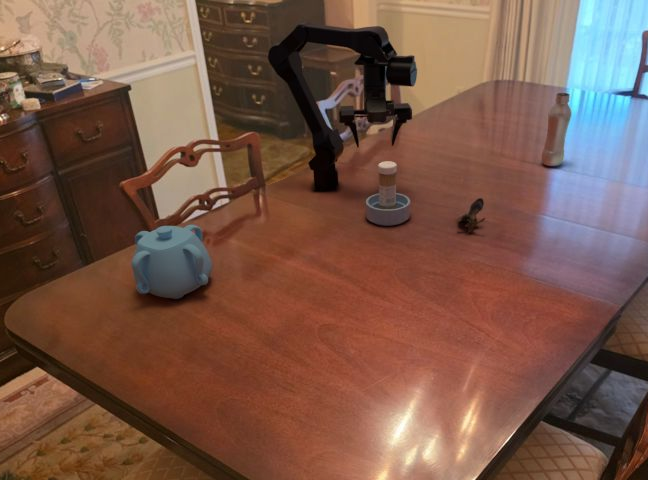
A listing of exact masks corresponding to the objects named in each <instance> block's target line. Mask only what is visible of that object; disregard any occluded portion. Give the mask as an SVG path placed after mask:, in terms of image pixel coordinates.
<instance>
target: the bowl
mask: <svg viewBox="0 0 648 480" xmlns="http://www.w3.org/2000/svg"><path fill="white" fill-rule="evenodd" d="M365 217H366V219H367V220H368V221H369V222H370V223H373V224H375V225H378V226H383V227H391V226H397V225H400V224H403V223H405V222H406V221H408V220H409V218H410V217H411V199H410V198H409V197H408V196H407V195H405V194H402V193H397V192H396V209H390V210H389V209H379V192H378V193H375V194H372V195H370V196H369V197H367V198H366V200H365Z"/></svg>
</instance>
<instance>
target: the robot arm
mask: <svg viewBox="0 0 648 480" xmlns="http://www.w3.org/2000/svg"><path fill="white" fill-rule="evenodd" d="M308 43H310V44H319V45H325V46H333V47H340V48H347V49H350V50H351V51H353V52H355V53H356V54H359V57H358V58H357V59H356V60H355V61H354V65H355V66H362V81H363V83H362V85H363V109H355V108H354V105H340V106H339V107H338V120H339V121H338V122H339V124H343V125H344V126H345V127H348V128H349V129H350V131H351V133H352V137H353V139H354V142H355V144H356V147H357V148H359V147H360V141H359V134H358V128H357V123H356V118H366V122H367V123H369V124H374V123H381V124H383V123H386V122H387V117H392V128H391V139H390V140H391V141H390V143H391V147H393V146H394V145H395V142H396V139H397V137H398V133H399V131H400V129H401V127H402V125H404V124H407V122H408V121H411V120H413V109H412V107H411V105H410V103H408V102H401V103H395V101H394V99H389V100H387V83H388V84H389V85H390V86H395V87H396V86H397V87H410V88H411V87H412V88H413V87H415V85H416V83H417V79H418V68H417V63H416V60H415V55H413V54H412V55H411V54H409V55H398V52H397V51H396V50H395V48H394V46H393V45H392V43H391V41H390V39H389V34H388V32H387V30H386V29H385V28H384V27H383V26H379V25H375V26H365V27H357V28H350V27H349V28H348V27H341V26H333V25H325V24H319V23H318V24H317V23H311V22H310V21H304V22H302V23H300V24H297V25H296V26H295V28H294V29H293V30H292V31H291V32H290V33H289V34H288V35H287V36H286V37H284V39H283V40H281V42H279V43H277V44H274V45H272V46H271V47H270V48H269V50H268V54H267V60H268V63H269V65H270V66H271V68H272V69H273V71H274V72H275V74H276V75H277V76H278V77H279V78H280V79H282V80H283V81H284V82H285V83H286V85H287V87H288V89H289V90H290V92H291V95H292V97H293V99H294V101H295V103H296V105H297V107H298V109H299V112H300V113H301V115H302V117H303V119H304V121H305V123H306V125H307V127H308V129H309V131H310V134H311V139H312V148H313V151H314V154H315V155H314V156H313V157H312V158H311V159H310V160H309V161H308V166H309V169H310V170H311V171H313V172H312V173H313V174H312V175H313V192H326V191H337V190H338V186H339V171H338V168H336V163H337V162H338V160H339V158H340V157H341V156H342V154H343V153H344V150H345V146H344V142H345V141H344V139H343V138H342V136H341V134H340V131H339V129H338V128H337V127H336V128H334V129H332V128H331V127H330V126H329V125H328V124H327V122H326V120H325V117H324V115H323V114H322V111H321V109H320V107H319V105H318V103H317V101H316V99H315V96H314V94H313V93H312V91H311V88H310V86H309V84H308V82H307V80H306V78H305V76H304V73H303V62H302V58H301V55H300V52H301V51H302V50H303V49H305V47H306V45H307V44H308Z"/></svg>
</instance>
